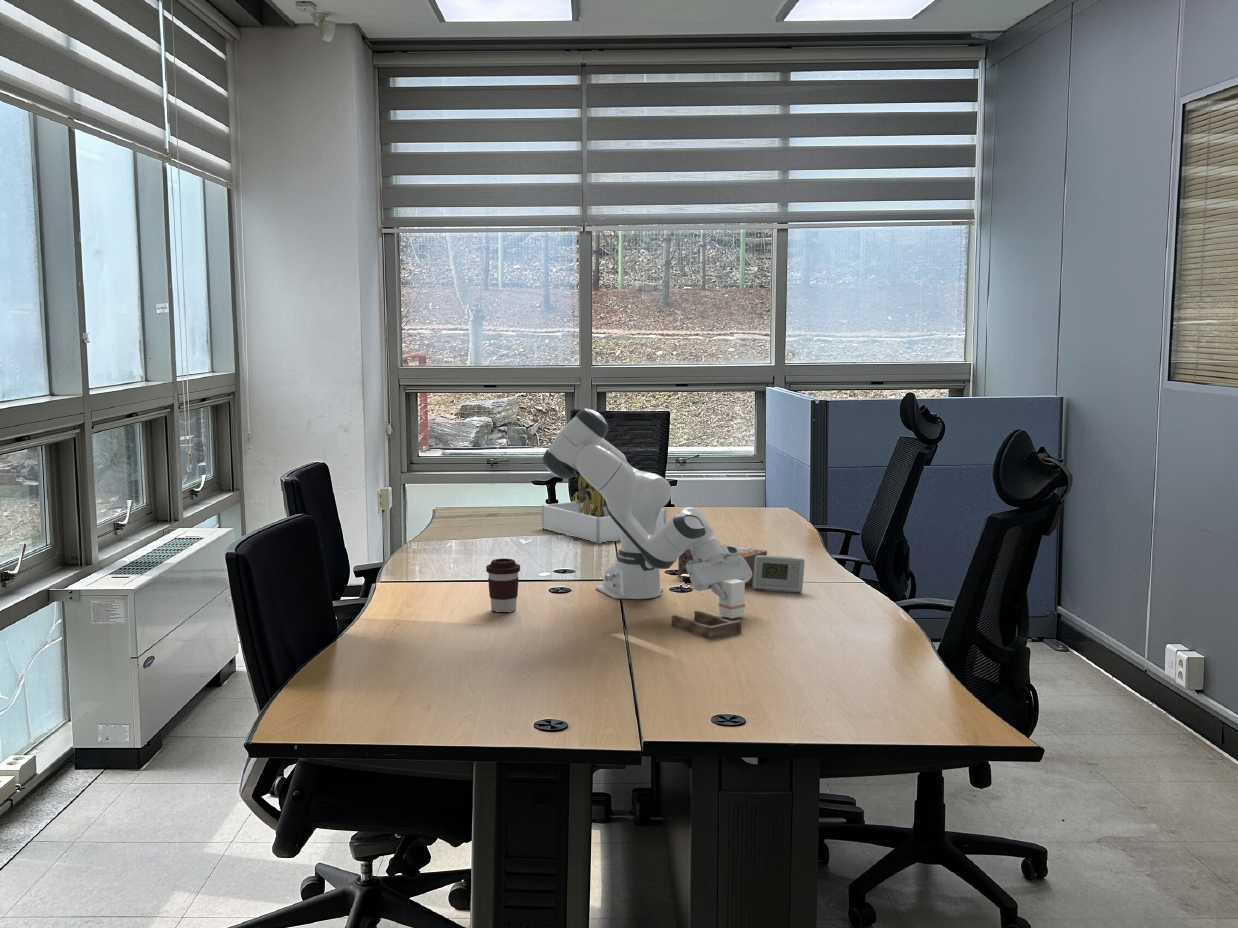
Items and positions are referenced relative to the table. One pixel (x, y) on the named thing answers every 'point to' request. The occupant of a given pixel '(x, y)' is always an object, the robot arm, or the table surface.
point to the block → (732, 598)
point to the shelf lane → (707, 625)
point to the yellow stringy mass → (588, 495)
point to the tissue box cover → (746, 553)
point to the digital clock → (778, 574)
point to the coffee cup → (503, 584)
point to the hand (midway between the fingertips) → (733, 597)
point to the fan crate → (585, 522)
